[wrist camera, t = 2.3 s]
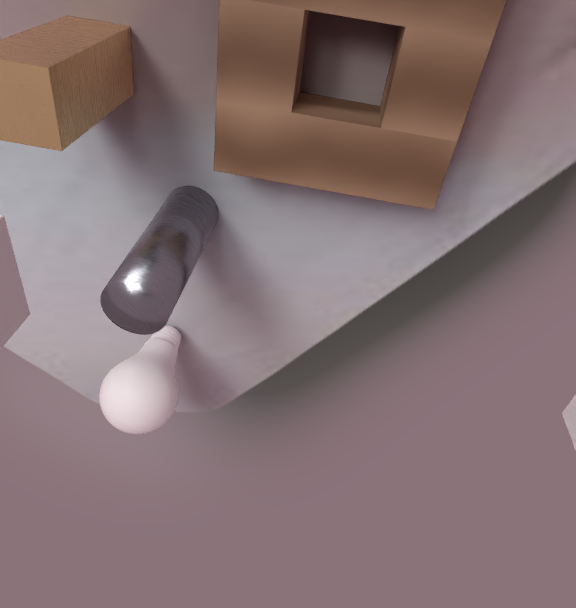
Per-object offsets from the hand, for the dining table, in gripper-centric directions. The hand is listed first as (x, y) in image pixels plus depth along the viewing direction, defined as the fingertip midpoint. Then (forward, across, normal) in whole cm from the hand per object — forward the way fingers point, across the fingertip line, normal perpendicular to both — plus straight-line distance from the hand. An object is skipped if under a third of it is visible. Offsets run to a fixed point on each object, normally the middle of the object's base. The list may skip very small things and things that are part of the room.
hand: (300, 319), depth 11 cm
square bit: (+25, -16, -2) cm, 29 cm away
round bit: (+25, -10, -12) cm, 29 cm away
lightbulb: (+25, -12, -25) cm, 37 cm away
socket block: (+25, 0, 0) cm, 25 cm away
